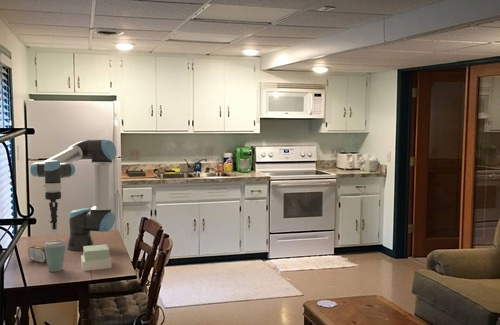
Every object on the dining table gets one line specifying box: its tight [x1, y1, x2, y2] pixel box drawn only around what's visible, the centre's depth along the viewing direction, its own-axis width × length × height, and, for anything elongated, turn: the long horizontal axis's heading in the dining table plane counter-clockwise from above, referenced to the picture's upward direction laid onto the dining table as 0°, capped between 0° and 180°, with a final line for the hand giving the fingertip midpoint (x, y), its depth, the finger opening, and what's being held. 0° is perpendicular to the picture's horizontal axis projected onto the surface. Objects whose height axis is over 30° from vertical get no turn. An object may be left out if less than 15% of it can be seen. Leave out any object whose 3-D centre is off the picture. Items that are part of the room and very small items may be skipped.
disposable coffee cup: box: [43, 239, 67, 273], centre depth 262 cm, size 11×11×15 cm
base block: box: [80, 254, 113, 272], centre depth 270 cm, size 14×14×5 cm
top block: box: [82, 244, 110, 261], centre depth 270 cm, size 12×12×5 cm
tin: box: [27, 244, 47, 264], centre depth 278 cm, size 15×3×8 cm, turn 59°
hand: (54, 232), depth 261 cm, fingers open, 13 cm apart
